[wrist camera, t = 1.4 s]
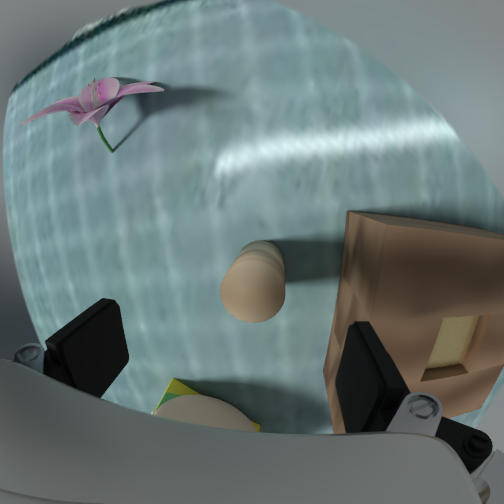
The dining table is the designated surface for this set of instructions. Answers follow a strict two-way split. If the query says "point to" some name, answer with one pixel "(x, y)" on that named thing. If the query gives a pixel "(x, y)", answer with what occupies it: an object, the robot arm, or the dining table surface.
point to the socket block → (421, 303)
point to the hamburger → (201, 409)
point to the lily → (95, 102)
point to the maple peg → (255, 283)
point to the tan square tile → (452, 341)
